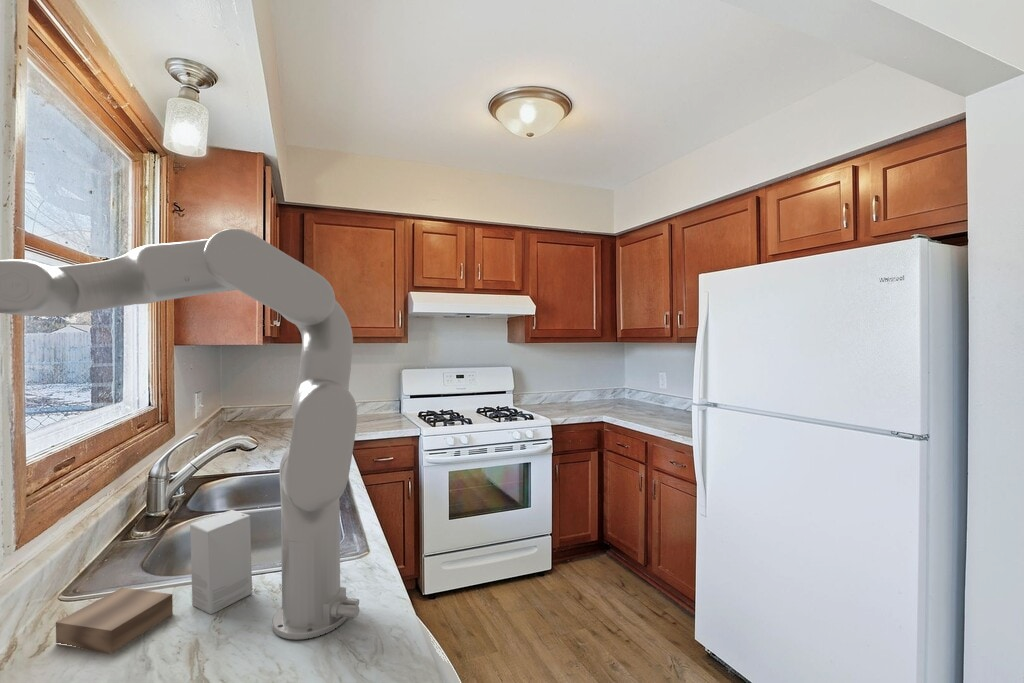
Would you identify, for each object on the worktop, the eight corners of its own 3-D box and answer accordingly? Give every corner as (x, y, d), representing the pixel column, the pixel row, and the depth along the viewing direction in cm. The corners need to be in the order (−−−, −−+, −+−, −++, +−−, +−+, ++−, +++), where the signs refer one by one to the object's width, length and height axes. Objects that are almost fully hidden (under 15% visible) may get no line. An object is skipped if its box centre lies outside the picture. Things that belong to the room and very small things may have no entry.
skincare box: (234, 586, 98) (233, 508, 98) (254, 594, 95) (253, 514, 94) (189, 606, 91) (188, 522, 90) (209, 616, 88) (208, 529, 87)
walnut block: (172, 616, 88) (172, 594, 88) (111, 655, 78) (111, 630, 78) (122, 609, 91) (122, 587, 91) (56, 646, 80) (55, 622, 80)
